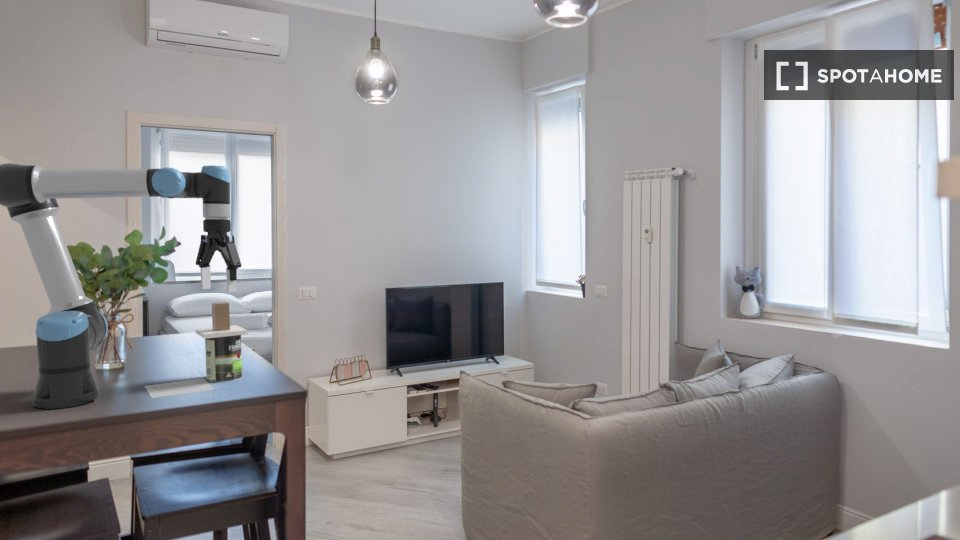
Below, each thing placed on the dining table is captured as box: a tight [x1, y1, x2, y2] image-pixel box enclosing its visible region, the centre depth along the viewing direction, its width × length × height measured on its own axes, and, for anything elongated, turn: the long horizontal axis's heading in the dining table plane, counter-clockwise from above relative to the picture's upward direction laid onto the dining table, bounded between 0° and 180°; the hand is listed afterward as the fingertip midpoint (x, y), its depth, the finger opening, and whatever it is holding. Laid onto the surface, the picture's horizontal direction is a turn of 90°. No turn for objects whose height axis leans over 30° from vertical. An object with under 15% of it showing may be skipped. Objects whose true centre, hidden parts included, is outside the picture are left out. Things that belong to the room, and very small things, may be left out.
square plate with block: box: [195, 301, 249, 340], centre depth 198 cm, size 12×12×9 cm
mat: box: [144, 377, 216, 399], centre depth 188 cm, size 16×16×1 cm
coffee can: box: [204, 335, 243, 383], centre depth 199 cm, size 10×10×14 cm
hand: (218, 290), depth 197 cm, fingers open, 13 cm apart
